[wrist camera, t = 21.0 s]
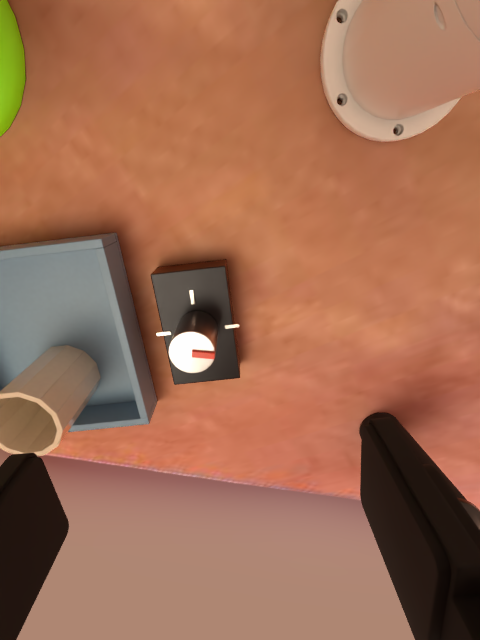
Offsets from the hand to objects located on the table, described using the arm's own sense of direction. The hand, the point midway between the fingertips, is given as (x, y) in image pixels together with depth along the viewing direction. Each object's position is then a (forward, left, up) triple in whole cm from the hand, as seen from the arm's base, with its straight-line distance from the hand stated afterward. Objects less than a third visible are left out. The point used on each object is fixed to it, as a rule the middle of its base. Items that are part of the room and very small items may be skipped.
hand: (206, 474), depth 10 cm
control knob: (+5, -3, -23) cm, 24 cm away
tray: (+5, -19, -26) cm, 33 cm away
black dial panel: (+5, -3, -26) cm, 27 cm away
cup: (+10, -19, -26) cm, 33 cm away
